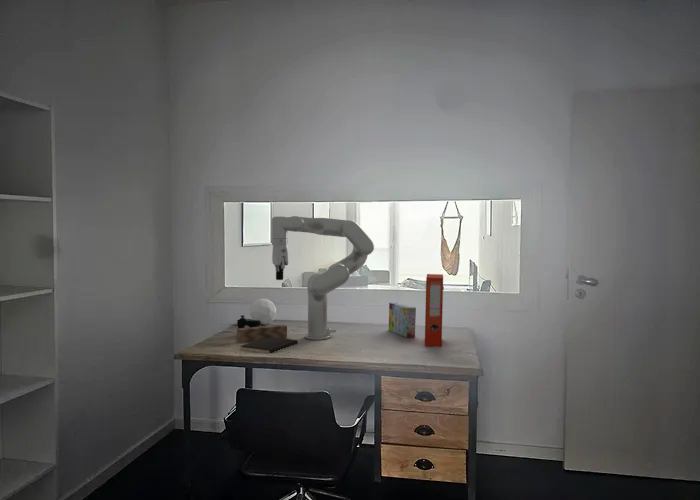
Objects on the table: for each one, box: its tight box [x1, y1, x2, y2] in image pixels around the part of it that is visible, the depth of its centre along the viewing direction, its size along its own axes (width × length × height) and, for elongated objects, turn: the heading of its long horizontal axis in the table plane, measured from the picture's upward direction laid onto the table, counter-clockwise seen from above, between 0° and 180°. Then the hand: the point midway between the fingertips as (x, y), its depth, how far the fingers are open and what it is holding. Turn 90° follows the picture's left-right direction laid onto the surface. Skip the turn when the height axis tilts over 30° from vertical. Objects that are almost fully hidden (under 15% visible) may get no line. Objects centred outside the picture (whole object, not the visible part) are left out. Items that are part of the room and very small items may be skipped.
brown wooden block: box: [236, 324, 288, 344], centre depth 284 cm, size 24×4×6 cm, turn 118°
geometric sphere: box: [249, 298, 277, 326], centre depth 324 cm, size 14×15×15 cm
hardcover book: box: [239, 337, 299, 354], centre depth 269 cm, size 16×23×2 cm
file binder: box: [424, 273, 444, 348], centre depth 279 cm, size 8×17×32 cm, turn 171°
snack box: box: [388, 301, 417, 338], centre depth 301 cm, size 21×6×15 cm, turn 22°
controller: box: [236, 315, 262, 329], centre depth 293 cm, size 4×12×10 cm, turn 76°
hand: (279, 279), depth 284 cm, fingers closed
